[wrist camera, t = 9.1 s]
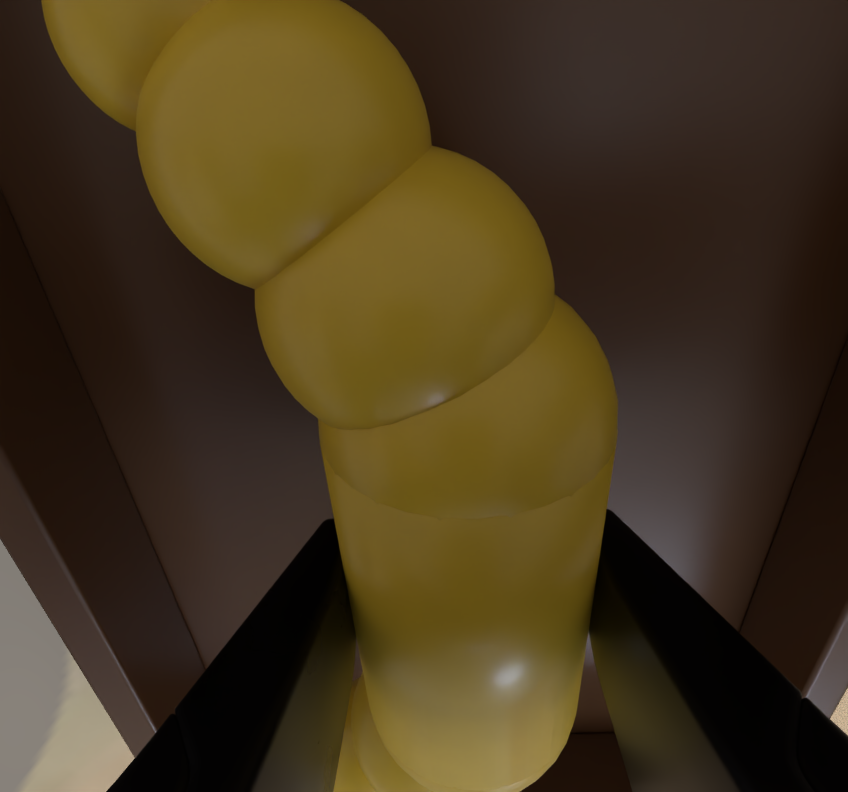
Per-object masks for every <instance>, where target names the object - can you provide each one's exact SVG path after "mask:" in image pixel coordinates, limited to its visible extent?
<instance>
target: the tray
mask: <svg viewBox="0 0 848 792" xmlns="http://www.w3.org/2000/svg"><path fill="white" fill-rule="evenodd" d="M340 1H342V2H344V3H346V4H347V5H349V6H350V7H352V8H353V9H355V10H356V11H358V12H359V13H361V14H362V15H364V16H365V17H366V18H367V19H368V20H369V21H371V22H372V23H373V24H374V25H375V26H376V27H377V28H378V29H380V30H381V31H382V33H383V34H384V35H385V36H386V37H387V38H388V39H389V41H390V42H391V43H392V44H393V45H394V46H395V47H396V49H397V50H398V52H399V53H400V55H401V56H402V58H403V59H404V61H405V62H406V64H407V65H408V67H409V69H410V71H411V73H412V75H413V77H414V79H415V81H416V83H417V85H418V87H419V90H420V93H421V96H422V98H423V101H424V104H425V107H426V112H427V116H428V120H429V125H430V133H431V143H432V146H436V147H440V148H443V149H446V150H450V151H453V152H456V153H459V154H461V155H463V156H465V157H468V158H470V159H472V160H474V161H476V162H478V163H479V164H481V165H482V166H484V167H486V168H487V169H489V170H490V171H492V172H493V173H494V174H496V175H497V176H498V177H499V178H500V179H501V180H503V181H504V182H505V183H506V184H507V185H508V186H509V187H510V188H511V189H512V190H513V191H514V193H515V194H516V195H517V196H518V197H519V198H520V199H521V201H522V202H523V203H524V204H525V205H526V207H527V208H528V210H529V212H530V213H531V215H532V216H533V218H534V219H535V221H536V223H537V225H538V227H539V229H540V231H541V233H542V236H543V238H544V240H545V244H546V247H547V250H548V254H549V257H550V260H551V264H552V269H553V276H554V283H555V295H557V296H558V297H559V298H561V299H562V300H563V301H565V302H566V303H567V304H568V305H570V306H571V307H572V308H573V309H574V310H575V312H576V313H577V314H578V315H579V316H580V317H581V319H582V320H583V321H584V322H585V323H586V324H587V326H588V327H589V328H590V330H591V331H592V332H593V334H594V335H595V336H596V338H597V340H598V342H599V344H600V346H601V348H602V350H603V352H604V354H605V356H606V358H607V360H608V363H609V366H610V369H611V372H612V376H613V380H614V385H615V389H616V393H617V398H618V426H617V428H618V434H617V443H616V449H615V456H614V463H613V470H612V476H611V483H610V490H609V497H608V503H607V509H609V510H611V511H613V512H614V513H615V514H616V515H617V516H618V517H619V518H620V519H621V520H622V521H623V522H624V523H625V524H626V525H627V526H628V527H630V528H631V529H632V530H633V531H634V532H635V533H636V534H637V535H638V536H639V537H640V538H641V539H642V540H643V541H644V542H645V543H646V544H647V545H648V546H649V547H650V548H651V549H652V550H654V551H655V552H656V553H657V554H658V555H659V556H660V557H661V558H662V559H663V560H664V561H665V562H666V563H667V564H668V565H669V566H670V567H671V568H672V569H673V570H674V571H675V572H676V573H678V574H679V575H680V576H681V577H682V578H683V579H684V580H685V581H686V582H687V583H688V584H689V585H690V586H691V587H692V588H693V589H694V590H695V591H696V592H697V593H698V594H699V595H701V596H702V597H703V598H704V599H705V600H706V601H707V602H708V603H709V604H710V605H711V606H712V607H713V608H714V609H715V610H716V611H717V612H718V613H719V614H720V615H721V616H722V617H723V618H725V619H726V620H727V621H728V622H729V623H730V624H731V625H732V626H733V627H734V628H735V629H736V630H737V631H738V632H739V633H740V634H741V635H742V636H743V637H744V638H745V639H746V640H748V641H749V642H750V643H751V644H752V645H753V646H754V647H755V648H756V649H757V650H758V651H759V652H760V653H761V654H762V655H763V656H764V657H765V658H766V659H767V660H768V661H769V662H770V663H772V664H773V665H774V666H775V667H776V668H777V669H778V670H779V671H780V672H781V673H782V674H783V675H784V676H785V677H786V678H787V679H788V680H789V681H790V682H791V683H792V684H793V685H794V686H796V687H797V688H798V689H799V690H800V691H801V693H802V698H808V699H809V700H811V701H812V702H813V703H814V704H815V705H816V706H817V707H818V708H819V709H820V710H821V711H822V712H823V713H824V714H825V715H826V716H827V717H828V718H829V719H830V718H831V716H832V714H833V712H834V711H835V709H836V707H837V705H838V704H839V702H840V700H841V698H842V696H843V695H844V693H845V691H846V689H847V688H848V0H340ZM332 518H334V516H333V510H332V505H331V500H330V494H329V489H328V484H327V478H326V473H325V468H324V462H323V457H322V452H321V446H320V439H319V426H318V418H317V417H315V416H314V415H313V414H311V413H310V412H309V411H307V410H306V409H305V408H304V407H303V406H302V405H301V404H300V403H299V402H298V401H297V400H296V399H295V398H294V397H293V396H292V394H291V393H290V392H289V391H288V389H287V388H286V387H285V386H284V384H283V382H282V381H281V379H280V378H279V376H278V374H277V373H276V371H275V370H274V368H273V366H272V365H271V362H270V360H269V358H268V356H267V354H266V351H265V349H264V346H263V343H262V339H261V336H260V332H259V328H258V323H257V317H256V311H255V289H252V288H250V287H247V286H244V285H242V284H239V283H236V282H234V281H232V280H230V279H228V278H226V277H225V276H223V275H221V274H219V273H218V272H216V271H215V270H213V269H212V268H210V267H208V266H207V265H206V264H204V263H203V262H202V261H201V260H200V259H198V258H197V257H196V256H195V255H193V254H192V253H191V252H190V251H189V250H188V249H187V248H186V247H185V246H184V245H183V244H182V243H181V242H180V240H179V239H178V238H177V237H176V235H175V234H174V233H173V232H172V230H171V229H170V228H169V226H168V225H167V223H166V222H165V220H164V219H163V217H162V215H161V214H160V212H159V211H158V209H157V207H156V204H155V202H154V200H153V198H152V196H151V194H150V192H149V189H148V187H147V184H146V181H145V178H144V176H143V173H142V168H141V164H140V160H139V156H138V148H137V139H136V132H135V131H133V130H131V129H129V128H127V127H126V126H124V125H122V124H120V123H118V122H117V121H115V120H114V119H113V118H111V117H110V116H108V115H107V114H105V113H104V112H103V111H102V110H101V109H100V108H99V107H97V106H96V105H95V104H94V103H93V102H92V101H91V100H90V99H89V98H88V97H87V96H86V95H85V94H84V93H83V91H82V90H81V89H80V88H79V87H78V85H77V84H76V83H75V81H74V80H73V79H72V78H71V76H70V75H69V73H68V72H67V70H66V68H65V67H64V65H63V64H62V62H61V60H60V58H59V56H58V54H57V52H56V50H55V48H54V46H53V43H52V41H51V38H50V36H49V33H48V30H47V26H46V23H45V19H44V15H43V9H42V3H41V0H0V539H1V541H2V542H3V544H4V546H5V547H6V549H7V550H8V552H9V554H10V555H11V557H12V558H13V560H14V562H15V564H16V565H17V567H18V568H19V570H20V571H21V573H22V575H23V577H24V578H25V580H26V581H27V583H28V585H29V586H30V588H31V590H32V591H33V593H34V594H35V596H36V598H37V599H38V601H39V602H40V604H41V606H42V607H43V609H44V611H45V612H46V614H47V616H48V617H49V619H50V620H51V622H52V624H53V625H54V627H55V629H56V630H57V632H58V633H59V635H60V637H61V638H62V640H63V642H64V643H65V645H66V647H67V648H68V650H69V651H70V653H71V655H72V656H73V658H74V660H75V661H76V663H77V664H78V666H79V668H80V669H81V671H82V673H83V674H84V676H85V677H86V679H87V681H88V682H89V684H90V686H91V687H92V689H93V690H94V692H95V694H96V695H97V697H98V699H99V700H100V702H101V703H102V705H103V707H104V708H105V710H106V712H107V713H108V715H109V716H110V718H111V720H112V721H113V723H114V725H115V726H116V728H117V729H118V731H119V733H120V734H121V736H122V738H123V739H124V741H125V742H126V744H127V746H128V747H129V749H130V751H131V752H132V754H133V755H134V757H136V756H137V755H138V754H139V753H140V751H141V750H142V749H143V748H144V746H145V745H146V744H147V743H148V742H149V740H150V739H151V738H152V737H153V735H154V734H155V733H156V732H157V730H158V729H159V728H160V727H161V725H162V724H163V723H164V722H165V720H166V719H167V718H168V716H169V715H170V714H175V708H176V707H177V705H178V704H179V703H180V702H181V700H182V699H183V698H184V697H185V695H186V694H187V693H188V692H189V690H190V689H191V688H192V686H193V685H194V684H195V683H196V681H197V680H198V679H199V678H200V676H201V675H202V674H203V673H204V671H205V670H206V669H207V668H208V666H209V665H210V664H211V662H212V661H213V660H214V659H215V657H216V656H217V655H218V654H219V652H220V651H221V650H222V649H223V647H224V646H225V645H226V644H227V642H228V641H229V640H230V638H231V637H232V636H233V635H234V633H235V632H236V631H237V630H238V628H239V627H240V626H241V625H242V623H243V622H244V621H245V619H246V618H247V617H248V616H249V614H250V613H251V612H252V611H253V609H254V608H255V607H256V606H257V604H258V603H259V602H260V601H261V599H262V598H263V597H264V595H265V594H266V593H267V592H268V590H269V589H270V588H271V587H272V585H273V584H274V583H275V582H276V580H277V579H278V578H279V577H280V575H281V574H282V573H283V571H284V570H285V569H286V568H287V566H288V565H289V564H290V563H291V561H292V560H293V559H294V558H295V556H296V555H297V554H298V552H299V551H300V550H301V549H302V547H303V546H304V545H305V544H306V542H307V541H308V540H309V539H310V537H311V536H312V535H313V534H314V532H315V531H316V530H317V528H318V527H319V526H320V525H321V523H322V522H323V521H325V520H326V519H332ZM362 672H363V670H362V665H361V659H360V654H359V649H358V643H357V638H356V652H355V664H354V673H353V680H352V681H354V680H356V679H357V678H359V677H360V676H361V674H362ZM175 715H176V714H175ZM520 792H632V788H631V785H630V782H629V778H628V775H627V771H626V768H625V765H624V761H623V758H622V755H621V751H620V748H619V745H618V741H617V738H616V735H615V731H614V728H613V724H612V721H611V718H610V714H609V711H608V708H607V704H606V701H605V698H604V694H603V691H602V688H601V684H600V681H599V677H598V674H597V670H596V666H595V662H594V658H593V653H592V648H591V643H590V637H589V632H588V638H587V645H586V652H585V659H584V665H583V672H582V679H581V686H580V692H579V699H578V706H577V712H576V716H575V720H574V723H573V727H572V729H571V731H570V734H569V737H568V740H567V743H566V745H565V746H564V748H563V750H562V751H561V753H560V755H559V756H558V758H557V760H556V761H555V762H554V763H553V764H552V765H551V767H550V768H549V769H548V770H547V771H546V772H545V773H544V774H543V775H542V776H541V777H540V778H539V779H538V780H536V781H535V782H534V783H532V784H531V785H529V786H528V787H526V788H524V789H523V790H521V791H520Z"/></svg>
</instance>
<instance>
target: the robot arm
mask: <svg viewBox="0 0 848 792" xmlns="http://www.w3.org/2000/svg"><path fill="white" fill-rule="evenodd" d="M589 637H590V643H591V648H592V653H593V658H594V662H595V666H596V670H597V674H598V677H599V681H600V684H601V688H602V691H603V694H604V698H605V701H606V704H607V708H608V711H609V714H610V718H611V721H612V724H613V728H614V731H615V735H616V738H617V741H618V745H619V748H620V751H621V755H622V758H623V761H624V765H625V768H626V771H627V775H628V778H629V782H630V785H631V788H632V792H848V735H846V734H845V733H844V732H843V731H842V730H841V729H840V728H839V727H838V726H837V725H836V724H835V723H833V722H832V721H831V720H830V719H829V718H828V717H827V716H826V715H825V714H824V713H823V712H822V711H821V710H820V709H819V708H818V707H817V706H816V705H815V704H814V703H813V702H812V701H811V700H809V699H808V698H802V693H801V691H800V690H799V689H798V688H797V687H796V686H794V685H793V684H792V683H791V682H790V681H789V680H788V679H787V678H786V677H785V676H784V675H783V674H782V673H781V672H780V671H779V670H778V669H777V668H776V667H775V666H774V665H773V664H772V663H770V662H769V661H768V660H767V659H766V658H765V657H764V656H763V655H762V654H761V653H760V652H759V651H758V650H757V649H756V648H755V647H754V646H753V645H752V644H751V643H750V642H749V641H748V640H746V639H745V638H744V637H743V636H742V635H741V634H740V633H739V632H738V631H737V630H736V629H735V628H734V627H733V626H732V625H731V624H730V623H729V622H728V621H727V620H726V619H725V618H723V617H722V616H721V615H720V614H719V613H718V612H717V611H716V610H715V609H714V608H713V607H712V606H711V605H710V604H709V603H708V602H707V601H706V600H705V599H704V598H703V597H702V596H701V595H699V594H698V593H697V592H696V591H695V590H694V589H693V588H692V587H691V586H690V585H689V584H688V583H687V582H686V581H685V580H684V579H683V578H682V577H681V576H680V575H679V574H678V573H676V572H675V571H674V570H673V569H672V568H671V567H670V566H669V565H668V564H667V563H666V562H665V561H664V560H663V559H662V558H661V557H660V556H659V555H658V554H657V553H656V552H655V551H654V550H652V549H651V548H650V547H649V546H648V545H647V544H646V543H645V542H644V541H643V540H642V539H641V538H640V537H639V536H638V535H637V534H636V533H635V532H634V531H633V530H632V529H631V528H630V527H628V526H627V525H626V524H625V523H624V522H623V521H622V520H621V519H620V518H619V517H618V516H617V515H616V514H615V513H614V512H613V511H611V510H609V509H607V510H606V517H605V524H604V530H603V537H602V544H601V551H600V557H599V564H598V571H597V578H596V584H595V591H594V598H593V605H592V611H591V618H590V625H589ZM355 652H356V633H355V627H354V622H353V617H352V611H351V606H350V601H349V595H348V590H347V585H346V579H345V574H344V569H343V563H342V558H341V553H340V548H339V542H338V537H337V532H336V526H335V521H334V518H332V519H326V520H325V521H323V522H322V523H321V525H320V526H319V527H318V528H317V530H316V531H315V532H314V534H313V535H312V536H311V537H310V539H309V540H308V541H307V542H306V544H305V545H304V546H303V547H302V549H301V550H300V551H299V552H298V554H297V555H296V556H295V558H294V559H293V560H292V561H291V563H290V564H289V565H288V566H287V568H286V569H285V570H284V571H283V573H282V574H281V575H280V577H279V578H278V579H277V580H276V582H275V583H274V584H273V585H272V587H271V588H270V589H269V590H268V592H267V593H266V594H265V595H264V597H263V598H262V599H261V601H260V602H259V603H258V604H257V606H256V607H255V608H254V609H253V611H252V612H251V613H250V614H249V616H248V617H247V618H246V619H245V621H244V622H243V623H242V625H241V626H240V627H239V628H238V630H237V631H236V632H235V633H234V635H233V636H232V637H231V638H230V640H229V641H228V642H227V644H226V645H225V646H224V647H223V649H222V650H221V651H220V652H219V654H218V655H217V656H216V657H215V659H214V660H213V661H212V662H211V664H210V665H209V666H208V668H207V669H206V670H205V671H204V673H203V674H202V675H201V676H200V678H199V679H198V680H197V681H196V683H195V684H194V685H193V686H192V688H191V689H190V690H189V692H188V693H187V694H186V695H185V697H184V698H183V699H182V700H181V702H180V703H179V704H178V705H177V707H176V708H175V714H176V715H175V714H170V715H169V716H168V718H167V719H166V720H165V722H164V723H163V724H162V725H161V727H160V728H159V729H158V730H157V732H156V733H155V734H154V735H153V737H152V738H151V739H150V740H149V742H148V743H147V744H146V745H145V746H144V748H143V749H142V750H141V751H140V753H139V754H138V755H137V756H136V757H135V759H134V760H133V761H132V762H131V763H130V765H129V766H128V767H127V768H126V769H125V771H124V772H123V773H122V774H121V775H120V777H119V778H118V779H117V780H116V781H115V783H114V784H113V785H112V786H111V787H110V788H109V789H108V790H107V791H106V792H333V791H334V785H335V780H336V774H337V768H338V762H339V756H340V751H341V745H342V739H343V733H344V727H345V722H346V716H347V710H348V704H349V698H350V692H351V687H352V680H353V673H354V664H355Z"/></svg>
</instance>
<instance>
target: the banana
mask: <svg viewBox="0 0 848 792" xmlns="http://www.w3.org/2000/svg"><path fill="white" fill-rule="evenodd" d="M41 3H42V9H43V15H44V19H45V23H46V26H47V30H48V33H49V36H50V38H51V41H52V43H53V46H54V48H55V50H56V52H57V54H58V56H59V58H60V60H61V62H62V64H63V65H64V67H65V68H66V70H67V72H68V73H69V75H70V76H71V78H72V79H73V80H74V81H75V83H76V84H77V85H78V87H79V88H80V89H81V90H82V91H83V93H84V94H85V95H86V96H87V97H88V98H89V99H90V100H91V101H92V102H93V103H94V104H95V105H96V106H97V107H99V108H100V109H101V110H102V111H103V112H104V113H105V114H107V115H108V116H110V117H111V118H113V119H114V120H115V121H117V122H118V123H120V124H122V125H124V126H126V127H127V128H129V129H131V130H133V131H135V132H136V139H137V148H138V156H139V160H140V164H141V168H142V173H143V176H144V178H145V181H146V184H147V187H148V189H149V192H150V194H151V196H152V198H153V200H154V202H155V204H156V207H157V209H158V211H159V212H160V214H161V215H162V217H163V219H164V220H165V222H166V223H167V225H168V226H169V228H170V229H171V230H172V232H173V233H174V234H175V235H176V237H177V238H178V239H179V240H180V242H181V243H182V244H183V245H184V246H185V247H186V248H187V249H188V250H189V251H190V252H191V253H192V254H193V255H195V256H196V257H197V258H198V259H200V260H201V261H202V262H203V263H204V264H206V265H207V266H208V267H210V268H212V269H213V270H215V271H216V272H218V273H219V274H221V275H223V276H225V277H226V278H228V279H230V280H232V281H234V282H236V283H239V284H242V285H244V286H247V287H250V288H252V289H255V311H256V317H257V323H258V328H259V332H260V336H261V339H262V343H263V346H264V349H265V351H266V354H267V356H268V358H269V360H270V362H271V365H272V366H273V368H274V370H275V371H276V373H277V374H278V376H279V378H280V379H281V381H282V382H283V384H284V386H285V387H286V388H287V389H288V391H289V392H290V393H291V394H292V396H293V397H294V398H295V399H296V400H297V401H298V402H299V403H300V404H301V405H302V406H303V407H304V408H305V409H306V410H307V411H309V412H310V413H311V414H313V415H314V416H315V417H317V418H318V426H319V439H320V446H321V452H322V457H323V462H324V468H325V473H326V478H327V484H328V489H329V494H330V500H331V505H332V510H333V516H334V521H335V526H336V532H337V537H338V542H339V548H340V553H341V558H342V563H343V569H344V574H345V579H346V585H347V590H348V595H349V601H350V606H351V611H352V617H353V622H354V627H355V633H356V638H357V643H358V649H359V654H360V659H361V665H362V670H363V672H362V674H361V676H360V677H359V678H357V679H356V680H354V681H352V687H351V692H350V698H349V704H348V710H347V716H346V722H345V727H344V733H343V739H342V745H341V751H340V756H339V762H338V768H337V774H336V780H335V785H334V791H333V792H520V791H521V790H523V789H524V788H526V787H528V786H529V785H531V784H532V783H534V782H535V781H536V780H538V779H539V778H540V777H541V776H542V775H543V774H544V773H545V772H546V771H547V770H548V769H549V768H550V767H551V765H552V764H553V763H554V762H555V761H556V760H557V758H558V756H559V755H560V753H561V751H562V750H563V748H564V746H565V745H566V743H567V740H568V737H569V734H570V731H571V729H572V727H573V723H574V720H575V716H576V712H577V706H578V699H579V692H580V686H581V679H582V672H583V665H584V659H585V652H586V645H587V638H588V632H589V625H590V618H591V611H592V605H593V598H594V591H595V584H596V578H597V571H598V564H599V557H600V551H601V544H602V537H603V530H604V524H605V517H606V510H607V503H608V497H609V490H610V483H611V476H612V470H613V463H614V456H615V449H616V443H617V434H618V428H617V426H618V398H617V393H616V389H615V385H614V380H613V376H612V372H611V369H610V366H609V363H608V360H607V358H606V356H605V354H604V352H603V350H602V348H601V346H600V344H599V342H598V340H597V338H596V336H595V335H594V334H593V332H592V331H591V330H590V328H589V327H588V326H587V324H586V323H585V322H584V321H583V320H582V319H581V317H580V316H579V315H578V314H577V313H576V312H575V310H574V309H573V308H572V307H571V306H570V305H568V304H567V303H566V302H565V301H563V300H562V299H561V298H559V297H558V296H557V295H555V283H554V276H553V269H552V264H551V260H550V257H549V254H548V250H547V247H546V244H545V240H544V238H543V236H542V233H541V231H540V229H539V227H538V225H537V223H536V221H535V219H534V218H533V216H532V215H531V213H530V212H529V210H528V208H527V207H526V205H525V204H524V203H523V202H522V201H521V199H520V198H519V197H518V196H517V195H516V194H515V193H514V191H513V190H512V189H511V188H510V187H509V186H508V185H507V184H506V183H505V182H504V181H503V180H501V179H500V178H499V177H498V176H497V175H496V174H494V173H493V172H492V171H490V170H489V169H487V168H486V167H484V166H482V165H481V164H479V163H478V162H476V161H474V160H472V159H470V158H468V157H465V156H463V155H461V154H459V153H456V152H453V151H450V150H446V149H443V148H440V147H436V146H432V143H431V133H430V125H429V120H428V116H427V112H426V107H425V104H424V101H423V98H422V96H421V93H420V90H419V87H418V85H417V83H416V81H415V79H414V77H413V75H412V73H411V71H410V69H409V67H408V65H407V64H406V62H405V61H404V59H403V58H402V56H401V55H400V53H399V52H398V50H397V49H396V47H395V46H394V45H393V44H392V43H391V42H390V41H389V39H388V38H387V37H386V36H385V35H384V34H383V33H382V31H381V30H380V29H378V28H377V27H376V26H375V25H374V24H373V23H372V22H371V21H369V20H368V19H367V18H366V17H365V16H364V15H362V14H361V13H359V12H358V11H356V10H355V9H353V8H352V7H350V6H349V5H347V4H346V3H344V2H342V1H340V0H41Z"/></svg>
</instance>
